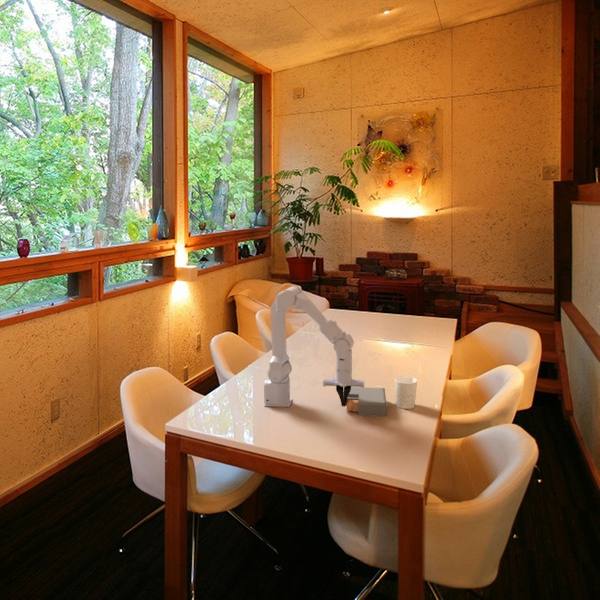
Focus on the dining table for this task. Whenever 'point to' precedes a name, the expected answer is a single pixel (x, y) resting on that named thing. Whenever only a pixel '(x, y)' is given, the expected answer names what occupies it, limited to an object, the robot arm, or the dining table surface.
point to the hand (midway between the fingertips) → (343, 405)
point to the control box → (369, 400)
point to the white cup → (405, 392)
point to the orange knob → (352, 405)
